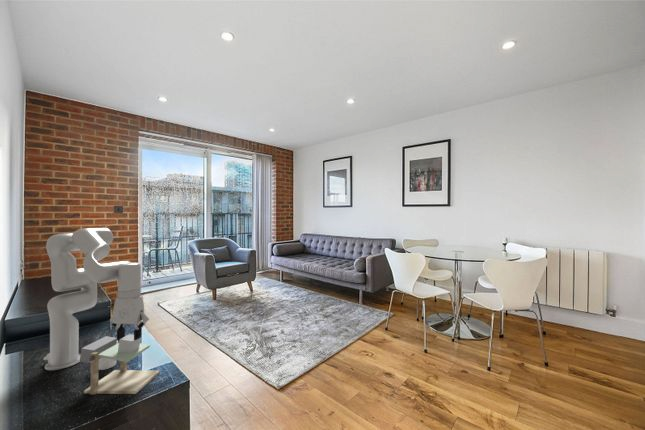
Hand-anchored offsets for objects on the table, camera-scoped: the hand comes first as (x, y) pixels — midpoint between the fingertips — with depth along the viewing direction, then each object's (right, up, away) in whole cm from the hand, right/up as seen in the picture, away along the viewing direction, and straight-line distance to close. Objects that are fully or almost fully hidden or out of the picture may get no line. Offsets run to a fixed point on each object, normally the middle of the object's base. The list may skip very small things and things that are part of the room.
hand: (129, 338), depth 108 cm
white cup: (-19, -18, +12) cm, 29 cm away
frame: (-2, -18, 0) cm, 18 cm away
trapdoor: (-6, -8, 0) cm, 10 cm away
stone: (0, -5, 0) cm, 5 cm away
